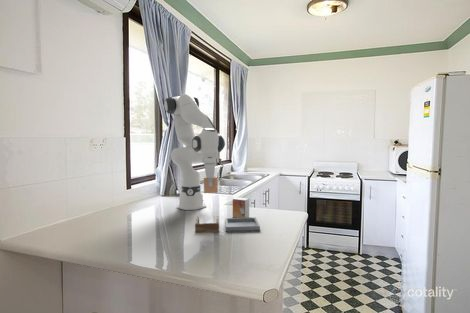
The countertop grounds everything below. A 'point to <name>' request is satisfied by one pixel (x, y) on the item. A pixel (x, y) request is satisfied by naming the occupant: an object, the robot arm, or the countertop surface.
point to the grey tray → (241, 224)
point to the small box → (241, 207)
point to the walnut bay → (206, 226)
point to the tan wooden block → (211, 188)
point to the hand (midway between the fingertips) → (210, 185)
